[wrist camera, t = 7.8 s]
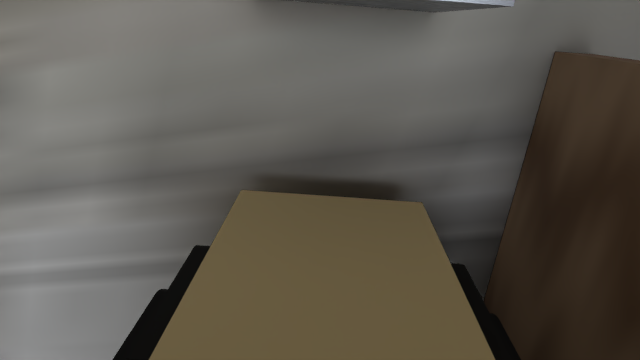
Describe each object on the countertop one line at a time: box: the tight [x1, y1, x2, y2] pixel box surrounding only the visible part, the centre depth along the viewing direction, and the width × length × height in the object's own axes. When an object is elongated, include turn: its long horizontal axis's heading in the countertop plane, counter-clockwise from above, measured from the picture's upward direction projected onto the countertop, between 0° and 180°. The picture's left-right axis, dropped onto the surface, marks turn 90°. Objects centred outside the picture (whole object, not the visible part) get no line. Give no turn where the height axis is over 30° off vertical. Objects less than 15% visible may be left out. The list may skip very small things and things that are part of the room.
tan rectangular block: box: [149, 190, 495, 360], centre depth 9 cm, size 4×6×9 cm, turn 87°
